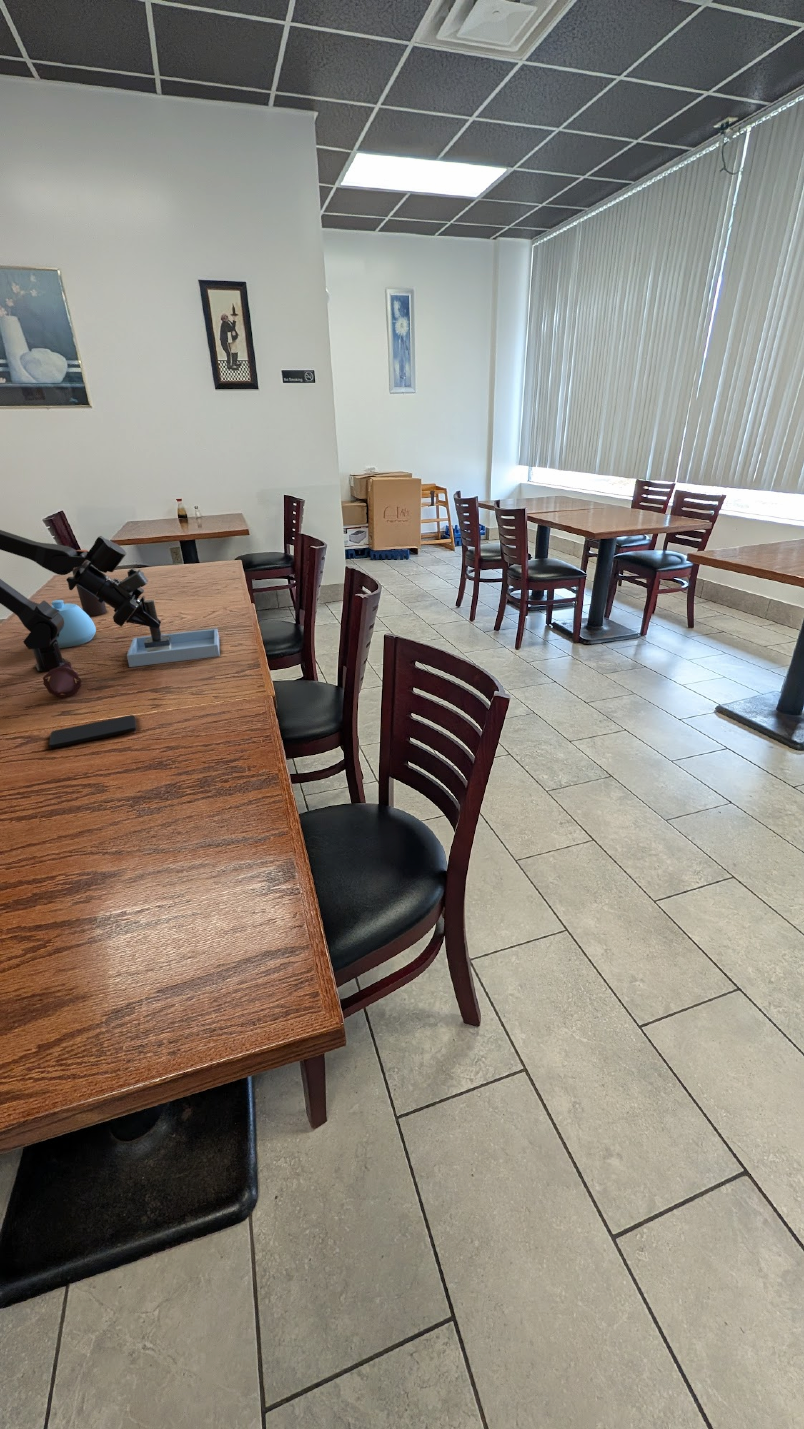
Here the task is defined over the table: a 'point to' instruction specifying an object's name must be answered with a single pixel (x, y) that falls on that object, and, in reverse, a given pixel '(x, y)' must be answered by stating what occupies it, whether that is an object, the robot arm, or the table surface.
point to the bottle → (89, 597)
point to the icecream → (62, 681)
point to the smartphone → (92, 731)
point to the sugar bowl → (73, 625)
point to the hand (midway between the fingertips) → (159, 625)
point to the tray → (176, 648)
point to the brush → (155, 632)
